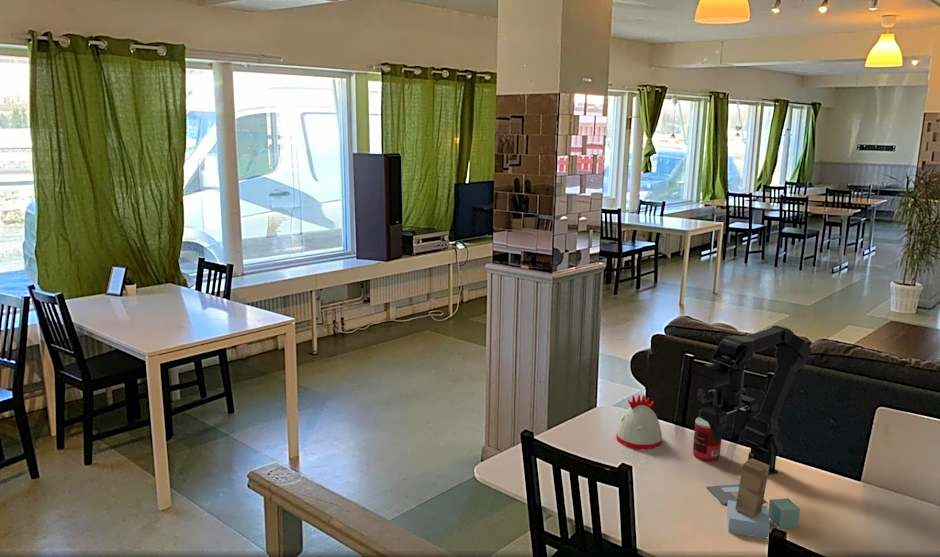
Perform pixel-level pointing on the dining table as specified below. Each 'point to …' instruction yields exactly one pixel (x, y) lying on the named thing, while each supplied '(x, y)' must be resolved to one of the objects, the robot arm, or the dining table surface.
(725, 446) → the dining table surface
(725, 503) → the card
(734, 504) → the blue base block
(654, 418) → the kitchen timer
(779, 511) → the teal cube
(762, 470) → the walnut pillar
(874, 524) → the dining table surface
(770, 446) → the robot arm
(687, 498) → the dining table surface
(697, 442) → the canned food
